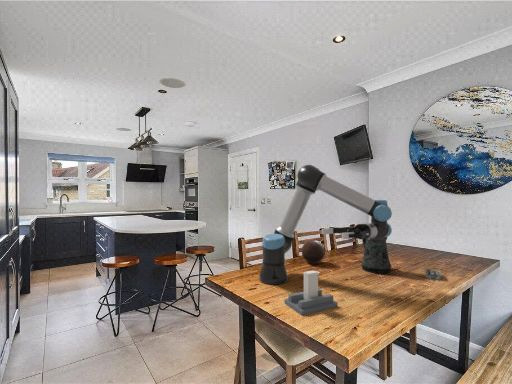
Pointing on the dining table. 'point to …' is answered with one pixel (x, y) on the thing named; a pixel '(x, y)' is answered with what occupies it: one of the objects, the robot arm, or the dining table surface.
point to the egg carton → (432, 274)
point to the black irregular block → (376, 256)
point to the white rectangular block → (310, 284)
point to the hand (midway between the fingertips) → (331, 233)
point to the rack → (310, 302)
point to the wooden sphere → (313, 251)
